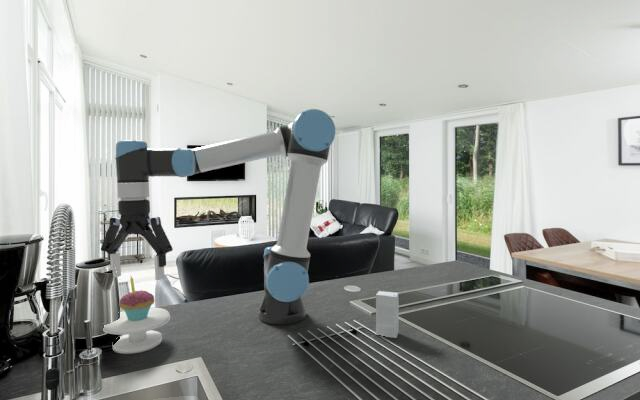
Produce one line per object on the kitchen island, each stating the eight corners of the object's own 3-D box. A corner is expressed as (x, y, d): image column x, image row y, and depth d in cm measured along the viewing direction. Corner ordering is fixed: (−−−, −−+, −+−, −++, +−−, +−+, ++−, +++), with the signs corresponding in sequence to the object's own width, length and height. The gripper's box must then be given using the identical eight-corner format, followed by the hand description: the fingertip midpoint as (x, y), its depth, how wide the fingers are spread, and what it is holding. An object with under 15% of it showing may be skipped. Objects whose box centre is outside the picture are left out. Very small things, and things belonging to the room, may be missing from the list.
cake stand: (182, 333, 107) (182, 309, 107) (143, 361, 91) (143, 332, 91) (133, 328, 111) (132, 305, 110) (87, 354, 95) (86, 326, 94)
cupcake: (140, 324, 95) (139, 278, 95) (111, 322, 97) (110, 276, 97) (161, 313, 104) (160, 270, 103) (134, 310, 106) (133, 269, 105)
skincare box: (398, 332, 108) (399, 292, 107) (396, 338, 104) (397, 296, 103) (377, 330, 110) (378, 290, 109) (375, 335, 106) (375, 294, 105)
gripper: (184, 198, 100) (187, 275, 101) (105, 198, 105) (109, 272, 106) (166, 199, 92) (170, 283, 94) (83, 200, 98) (87, 279, 99)
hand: (137, 277), depth 100 cm, fingers open, 13 cm apart
